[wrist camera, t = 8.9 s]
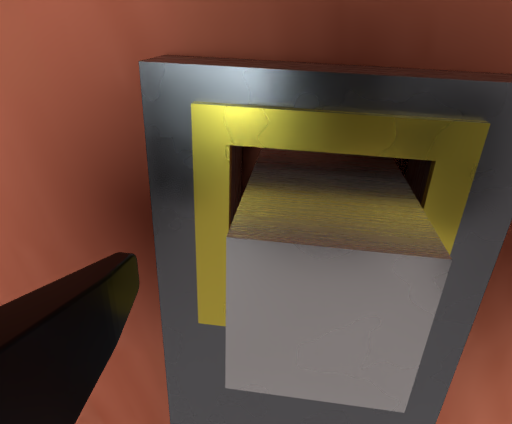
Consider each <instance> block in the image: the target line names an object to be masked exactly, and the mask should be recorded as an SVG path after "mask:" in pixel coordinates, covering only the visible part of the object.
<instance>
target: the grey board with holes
mask: <svg viewBox="0 0 512 424" xmlns="http://www.w3.org/2000/svg"><path fill="white" fill-rule="evenodd" d="M139 70H140V82H141V93H142V104H143V116H144V127H145V139H146V150H147V161H148V173H149V184H150V196H151V207H152V219H153V230H154V241H155V253H156V264H157V276H158V287H159V298H160V310H161V321H162V333H163V344H164V355H165V367H166V378H167V390H168V401H169V412H170V424H436V421H437V418H438V416H439V413H440V410H441V407H442V405H443V402H444V399H445V397H446V394H447V391H448V389H449V386H450V383H451V381H452V378H453V375H454V373H455V370H456V367H457V365H458V362H459V359H460V357H461V354H462V351H463V349H464V346H465V343H466V341H467V338H468V335H469V333H470V330H471V327H472V325H473V322H474V319H475V316H476V314H477V311H478V308H479V306H480V303H481V300H482V298H483V295H484V292H485V290H486V287H487V284H488V282H489V279H490V276H491V274H492V271H493V268H494V266H495V263H496V260H497V258H498V255H499V252H500V250H501V247H502V244H503V242H504V239H505V236H506V233H507V231H508V228H509V225H510V223H511V220H512V74H503V73H484V72H466V71H448V70H430V69H412V68H394V67H376V66H358V65H339V64H321V63H303V62H285V61H267V60H249V59H231V58H213V57H194V56H176V55H163V56H158V57H154V58H150V59H146V60H142V61H139ZM243 146H248V147H261V148H274V149H287V150H300V151H313V152H326V153H339V154H352V155H365V156H379V157H392V158H405V159H409V162H408V166H407V171H406V175H405V179H406V181H407V183H408V185H409V186H410V188H411V190H412V191H413V193H414V195H415V197H416V198H417V200H418V202H419V203H420V205H421V207H422V209H423V210H424V212H425V214H426V215H427V217H428V219H429V221H430V222H431V224H432V226H433V227H434V229H435V231H436V233H437V234H438V236H439V238H440V239H441V241H442V243H443V245H444V246H445V248H446V250H447V251H448V253H449V255H450V257H451V258H452V262H451V265H450V269H449V272H448V275H447V278H446V281H445V285H444V288H443V291H442V294H441V297H440V301H439V304H438V307H437V310H436V313H435V317H434V320H433V323H432V326H431V329H430V333H429V336H428V339H427V342H426V345H425V349H424V352H423V355H422V358H421V361H420V365H419V368H418V371H417V374H416V377H415V381H414V384H413V387H412V390H411V393H410V397H409V400H408V403H407V406H406V409H405V413H402V412H395V411H388V410H381V409H373V408H366V407H359V406H352V405H344V404H337V403H330V402H323V401H316V400H308V399H301V398H294V397H287V396H279V395H272V394H265V393H258V392H250V391H243V390H236V389H229V388H225V356H226V237H227V234H228V231H229V229H230V226H231V224H232V221H233V219H234V216H235V214H236V211H237V209H238V206H239V204H240V201H241V193H242V154H243Z"/></svg>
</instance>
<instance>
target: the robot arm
mask: <svg viewBox="0 0 512 424" xmlns="http://www.w3.org/2000/svg"><path fill="white" fill-rule="evenodd" d="M138 289H139V274H138V265H137V258H136V256H135V255H134V254H132V253H123V252H118V253H115V254H113V255H111V256H109V257H106V258H104V259H102V260H100V261H98V262H96V263H93V264H91V265H89V266H87V267H85V268H82V269H80V270H78V271H76V272H74V273H72V274H69V275H67V276H65V277H63V278H61V279H58V280H56V281H54V282H52V283H50V284H48V285H45V286H43V287H41V288H39V289H37V290H35V291H32V292H30V293H28V294H26V295H24V296H21V297H19V298H17V299H15V300H13V301H11V302H8V303H6V304H4V305H2V306H0V424H75V422H76V420H77V418H78V417H79V415H80V413H81V411H82V409H83V407H84V405H85V403H86V402H87V400H88V398H89V396H90V394H91V392H92V390H93V388H94V387H95V385H96V383H97V381H98V379H99V377H100V375H101V373H102V372H103V370H104V368H105V366H106V364H107V362H108V360H109V358H110V357H111V355H112V353H113V351H114V349H115V347H116V345H117V342H118V340H119V338H120V335H121V333H122V330H123V328H124V325H125V323H126V320H127V318H128V315H129V313H130V310H131V308H132V305H133V302H134V300H135V297H136V295H137V292H138Z"/></svg>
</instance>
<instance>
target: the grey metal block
mask: <svg viewBox="0 0 512 424" xmlns="http://www.w3.org/2000/svg"><path fill="white" fill-rule="evenodd" d="M451 262H452V258H451V257H450V255H449V253H448V251H447V250H446V248H445V246H444V245H443V243H442V241H441V239H440V238H439V236H438V234H437V233H436V231H435V229H434V227H433V226H432V224H431V222H430V221H429V219H428V217H427V215H426V214H425V212H424V210H423V209H422V207H421V205H420V203H419V202H418V200H417V198H416V197H415V195H414V193H413V191H412V190H411V188H410V186H409V185H408V183H407V181H406V179H405V178H404V176H403V174H402V173H401V171H400V169H399V167H398V166H397V164H396V162H395V161H394V159H393V158H392V157H379V156H365V155H352V154H339V153H326V152H313V151H300V150H287V149H274V148H261V151H260V153H259V156H258V158H257V161H256V163H255V166H254V168H253V171H252V173H251V176H250V178H249V181H248V183H247V186H246V188H245V191H244V194H243V196H242V199H241V201H240V204H239V206H238V209H237V211H236V214H235V216H234V219H233V221H232V224H231V226H230V229H229V231H228V234H227V237H226V356H225V388H229V389H236V390H243V391H250V392H258V393H265V394H272V395H279V396H287V397H294V398H301V399H308V400H316V401H323V402H330V403H337V404H344V405H352V406H359V407H366V408H373V409H381V410H388V411H395V412H402V413H405V409H406V406H407V403H408V400H409V397H410V393H411V390H412V387H413V384H414V381H415V377H416V374H417V371H418V368H419V365H420V361H421V358H422V355H423V352H424V349H425V345H426V342H427V339H428V336H429V333H430V329H431V326H432V323H433V320H434V317H435V313H436V310H437V307H438V304H439V301H440V297H441V294H442V291H443V288H444V285H445V281H446V278H447V275H448V272H449V269H450V265H451Z"/></svg>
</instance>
